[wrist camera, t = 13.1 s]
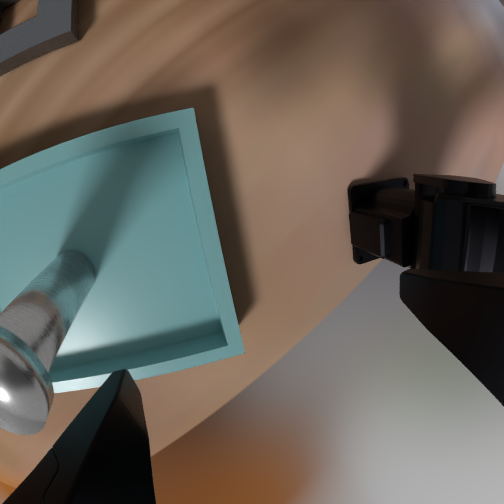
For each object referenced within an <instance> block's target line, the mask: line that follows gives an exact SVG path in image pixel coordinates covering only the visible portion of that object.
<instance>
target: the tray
mask: <svg viewBox="0 0 504 504" xmlns="http://www.w3.org/2000/svg"><path fill="white" fill-rule="evenodd" d="M68 250H75V251H79V252H81V253H83V254H84V255H85V256H87V257H88V258H89V260H90V261H91V263H92V264H93V267H94V270H95V282H94V285H93V287H92V288H91V290H90V292H89V294H88V295H87V297H86V299H85V301H84V303H83V304H82V306H81V308H80V310H79V312H78V314H77V315H76V317H75V319H74V321H73V323H72V325H71V327H70V329H69V331H68V333H67V335H66V337H65V339H64V341H63V343H62V345H61V347H60V349H59V351H58V353H57V355H56V357H55V359H54V362H53V364H52V366H51V368H50V370H49V373H48V374H49V376H50V378H51V381H52V385H53V389H54V393H59V392H67V391H74V390H81V389H88V388H94V387H100V386H101V385H102V384H103V383H104V382H105V381H106V379H107V378H108V377H109V376H110V375H111V373H112V372H113V371H116V370H120V369H127V370H128V371H129V373H130V374H131V376H132V378H133V380H138V379H143V378H148V377H153V376H157V375H162V374H166V373H171V372H175V371H179V370H183V369H187V368H191V367H195V366H199V365H203V364H207V363H211V362H215V361H218V360H222V359H226V358H229V357H233V356H236V355H240V354H243V353H245V351H244V346H243V342H242V338H241V334H240V330H239V325H238V321H237V317H236V312H235V308H234V304H233V299H232V295H231V290H230V286H229V281H228V277H227V272H226V268H225V263H224V259H223V254H222V249H221V245H220V240H219V235H218V231H217V226H216V221H215V216H214V211H213V206H212V201H211V196H210V191H209V186H208V181H207V176H206V171H205V166H204V161H203V155H202V150H201V145H200V140H199V134H198V129H197V123H196V118H195V112H194V108H189V109H184V110H179V111H174V112H169V113H164V114H160V115H155V116H151V117H147V118H143V119H139V120H135V121H131V122H127V123H124V124H120V125H117V126H113V127H110V128H106V129H103V130H100V131H96V132H93V133H90V134H87V135H84V136H81V137H78V138H75V139H72V140H69V141H67V142H64V143H61V144H58V145H56V146H53V147H51V148H48V149H45V150H43V151H40V152H38V153H36V154H33V155H31V156H28V157H26V158H24V159H21V160H19V161H17V162H15V163H13V164H10V165H8V166H6V167H4V168H2V169H0V314H1V313H2V311H3V310H4V309H5V308H6V307H7V306H8V305H9V304H10V303H11V302H12V301H13V300H14V299H15V298H16V296H17V295H18V294H19V293H20V292H21V291H22V290H23V289H24V288H25V287H26V286H27V285H28V284H29V283H30V282H31V281H32V280H33V279H34V278H35V277H36V276H37V275H38V274H39V273H40V272H42V271H43V270H44V269H45V268H46V267H47V266H48V265H49V264H50V263H51V262H52V261H53V260H54V259H55V258H56V257H58V256H59V255H60V254H61V253H63V252H65V251H68Z"/></svg>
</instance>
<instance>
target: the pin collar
mask: <svg viewBox="0 0 504 504" xmlns="http://www.w3.org/2000/svg"><path fill="white" fill-rule="evenodd" d="M17 1H19V0H0V20H1V14H2V9H4V8H6V7H8V6H10V5H11V4H13V3H15V2H17ZM76 42H78V0H39V1H38V10H37V16H36V17H34V18H32V19H30V20H28V21H26V22H24V23H21V24H19V25H18V26H16V27H14V28H12V29H10V30H8V31H6V32H4V33H3V34H1V35H0V76H1V75H3V74H5V73H7V72H9V71H11V70H13V69H15V68H17V67H19V66H21V65H23V64H25V63H27V62H29V61H31V60H33V59H36V58H38V57H40V56H42V55H45V54H47V53H50V52H52V51H54V50H57V49H59V48H62V47H65V46H67V45H70V44H73V43H76Z"/></svg>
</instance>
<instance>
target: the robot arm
mask: <svg viewBox="0 0 504 504" xmlns="http://www.w3.org/2000/svg"><path fill="white" fill-rule="evenodd" d="M403 182H404V184H403ZM414 182H415V190H412V189H409V182H408V179H407V178H403V177H401V178H394V179H388V180H382V181H376V182H370V183H364V184H358V185H352V186H350V187H349V188H348V201H349V210H350V214H349V221H350V232H351V244H352V246H353V259H354V262H356V263H357V264H363V263H366V262H369V261H372V260H375V259H378V258H382V259H384V258H385V259H387V260H389V261H391V262H393V263H396V264H398V265H400V266H402V267H409V268H411V269H408V270H406V271H404V272H402V273H401V275H400V298H401V300H402V301H403V303H404V304H405V305H406V306H407V307H408V308H409V309H410V311H411V312H412V313H413V314H414V315H415V316H416V317H417V318H418V320H419V321H420V322H421V323H422V324H423V325H424V326H425V327H426V329H427V330H428V331H430V333H432V334H433V335H434V336H435V337H436V338H437V339H438V340H439V341H440V342H441V343H442V344H443V345H444V346H445V347H446V348H447V349H448V350H449V351H450V352H451V353H452V354H453V355H454V356H455V357H456V358H457V359H458V360H460V361H461V362H462V364H463V365H464V366H465V367H466V368H467V369H468V370H470V372H472V374H473V375H474V376H475V377H476V378H477V379H478V380H479V381H480V382H481V383H482V384H483V385H484V386H485V387H486V388H487V389H488V390H489V391H490V392H491V393H492V394H493V395H494V396H495V397H496V399H498V400H499V402H500V403H501V404H502V405H503V406H504V195H499V194H496V184H495V183H492V182H488V181H485V180H481V179H477V178H470V177H461V176H451V175H428V174H414ZM354 189H355V194H353V190H354ZM359 256H361V257H360V259H359V260H358V258H359ZM52 447H53V448H51V449H50V450H49V451H48V452H47V454H46V455H45V456H44V458H43V459H42V460H41V461H40V462H39V464H38V465H37V466H36V467H35V469H34V470H33V471H32V472H31V473H30V474H29V475H28V476H27V477H26V479H25V480H24V481H23V482H22V483H21V484H20V485H19V486H18V487H17V488H16V489H15V491H14V492H13V493H12V494H11V495H10V496H9V497H8V498H7V499H6V500H5V501H4V502H3V504H156V500H155V493H154V485H153V476H152V467H151V457H150V445H149V437H148V432H147V426H146V421H145V416H144V410H143V404H142V398H141V393H140V391H139V389H138V387H137V385H136V383H135V382H134V380H133V378H132V376H131V374H130V373H129V371H128V370H127V369H120V370H116V371H113V372H112V373H111V375H110V376H109V377H108V378H107V379H106V381H105V382H104V383H103V384H102V385H101V387H100V388H99V389H98V390H97V392H96V393H95V394H94V395H93V396H92V398H91V399H90V400H89V401H88V403H87V404H86V405H85V406H84V407H83V409H82V410H81V411H80V412H79V414H78V415H77V416H76V417H75V419H74V420H73V421H72V422H71V423H70V425H69V426H68V427H67V428H66V430H65V431H64V432H63V433H62V435H61V436H60V437H59V439H58V440H57V441H56V442H55V444H54V445H53V446H52Z"/></svg>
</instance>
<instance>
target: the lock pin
mask: <svg viewBox="0 0 504 504" xmlns="http://www.w3.org/2000/svg"><path fill="white" fill-rule="evenodd" d="M94 282H95V270H94V267H93V264H92V263H91V261H90V260H89V258H88V257H87V256H85V255H84V254H83V253H81V252H79V251H75V250H68V251H65V252H63V253H61V254H60V255H59V256H58V257H56V258H55V259H54V260H53V261H52V262H51V263H50V264H49V265H48V266H47V267H46V268H45V269H44V270H43V271H42V272H40V273H39V274H38V275H37V276H36V277H35V278H34V279H33V280H32V281H31V282H30V283H29V284H28V285H27V286H26V287H25V288H24V289H23V290H22V291H21V292H20V293H19V294H18V295H17V296H16V298H15V299H14V300H13V301H12V302H11V303H10V304H9V305H8V306H7V307H6V308H5V309H4V310H3V311H2V313H1V314H0V428H2V429H5V430H7V431H10V432H13V433H16V434H22V435H31V434H35V433H38V432H39V431H41V430H42V429H43V428H44V426H45V424H46V420H47V417H48V414H49V411H50V408H51V405H52V402H53V399H54V389H53V385H52V381H51V378H50V376H49V374H48V373H49V370H50V368H51V366H52V364H53V362H54V359H55V357H56V355H57V353H58V351H59V349H60V347H61V345H62V343H63V341H64V339H65V337H66V335H67V333H68V331H69V329H70V327H71V325H72V323H73V321H74V319H75V317H76V315H77V314H78V312H79V310H80V308H81V306H82V304H83V303H84V301H85V299H86V297H87V295H88V294H89V292H90V290H91V288H92V287H93V285H94Z"/></svg>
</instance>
